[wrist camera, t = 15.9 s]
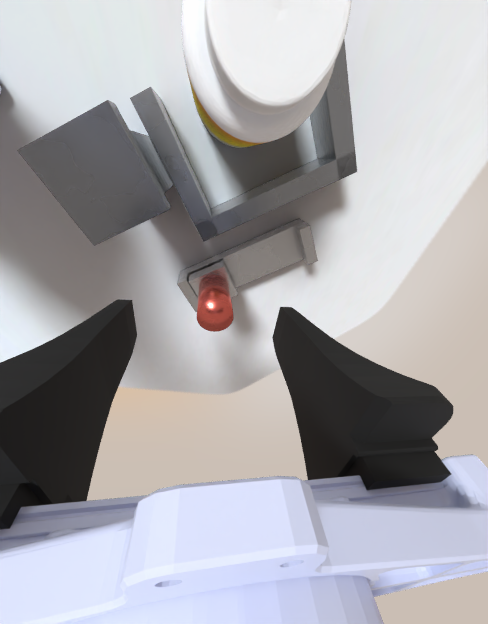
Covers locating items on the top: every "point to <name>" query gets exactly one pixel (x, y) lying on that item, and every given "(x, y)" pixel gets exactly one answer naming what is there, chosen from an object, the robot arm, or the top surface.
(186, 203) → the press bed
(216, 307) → the lever
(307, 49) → the supplement bottle
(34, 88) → the top surface
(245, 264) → the lever rail
